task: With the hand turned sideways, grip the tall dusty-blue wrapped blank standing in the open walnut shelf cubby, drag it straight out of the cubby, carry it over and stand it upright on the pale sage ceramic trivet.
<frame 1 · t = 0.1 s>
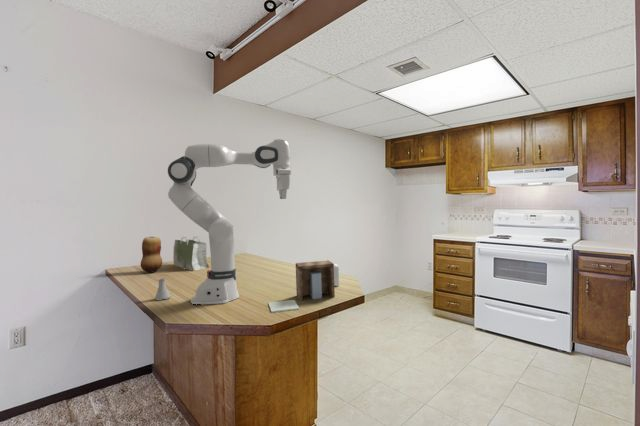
hand: (283, 199, 162), 48 cm above the table, tool pointing down, fingers open, 8 cm apart
trivet: (283, 306, 140), on the table
grocery bag: (191, 267, 238), on the table
shelf cubby: (316, 297, 152), on the table
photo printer: (329, 286, 172), on the table
butternut squash: (152, 272, 223), on the table
flask: (162, 299, 158), on the table
blank: (315, 285, 152), in the shelf cubby
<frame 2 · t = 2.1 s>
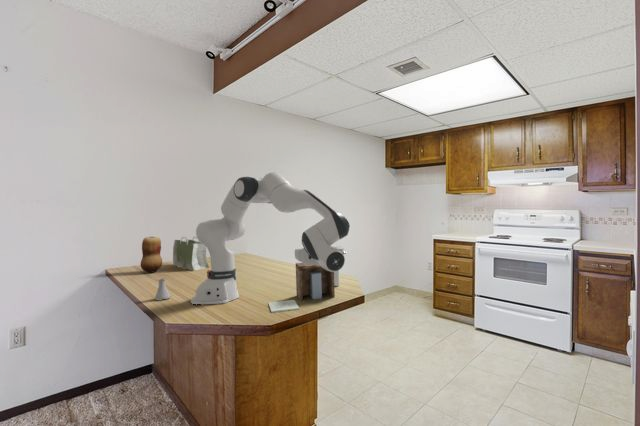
hand: (315, 250, 138), 25 cm above the table, tool horizontal, fingers open, 8 cm apart
nothing on the table moved.
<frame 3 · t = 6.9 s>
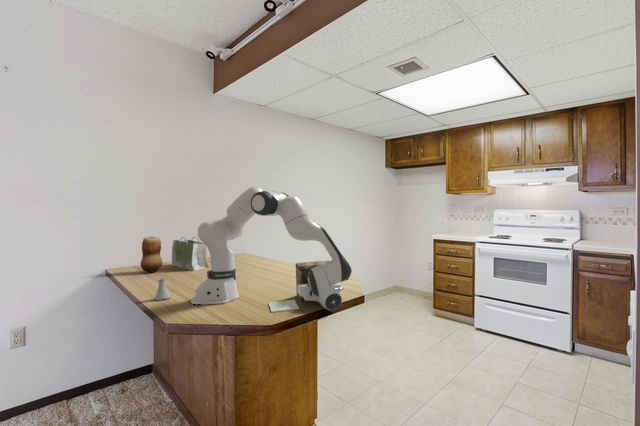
hand: (315, 283, 152), 7 cm above the table, tool horizontal, fingers closed on blank, 4 cm apart
blank: (315, 284, 152), in the shelf cubby, touching gripper
when the fingers open (8 cm above the table, at t = 14.8 s): blank drops 1 cm, resting on trivet.
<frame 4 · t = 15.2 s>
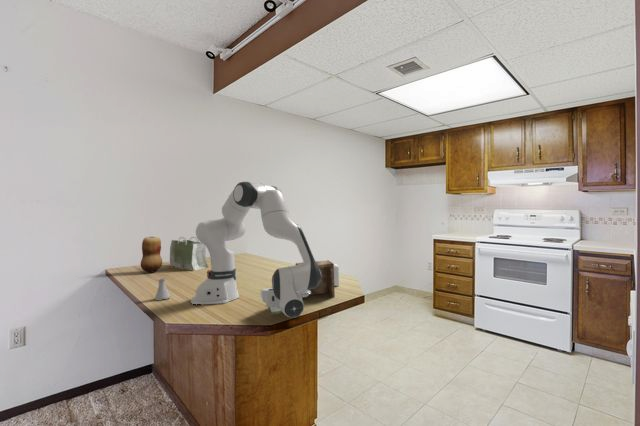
hand: (282, 287, 141), 8 cm above the table, tool horizontal, fingers open, 8 cm apart
blank: (282, 291, 140), on the trivet, point 7 cm above the table
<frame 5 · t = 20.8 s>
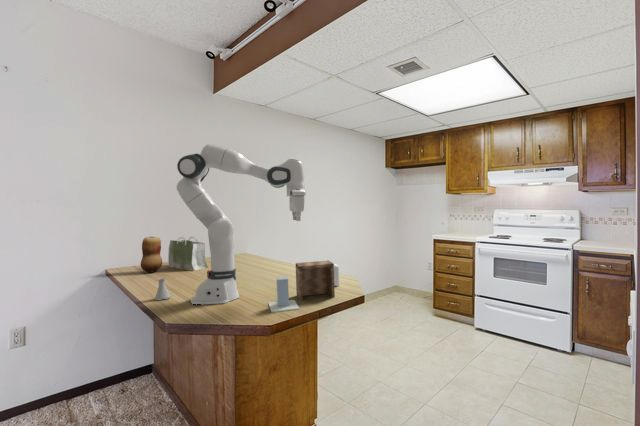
hand: (296, 220, 156), 37 cm above the table, tool pointing down, fingers open, 8 cm apart
at the end: blank 0.4 cm from the trivet (horizontally); blank tilted 0°; blank touching trivet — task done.
